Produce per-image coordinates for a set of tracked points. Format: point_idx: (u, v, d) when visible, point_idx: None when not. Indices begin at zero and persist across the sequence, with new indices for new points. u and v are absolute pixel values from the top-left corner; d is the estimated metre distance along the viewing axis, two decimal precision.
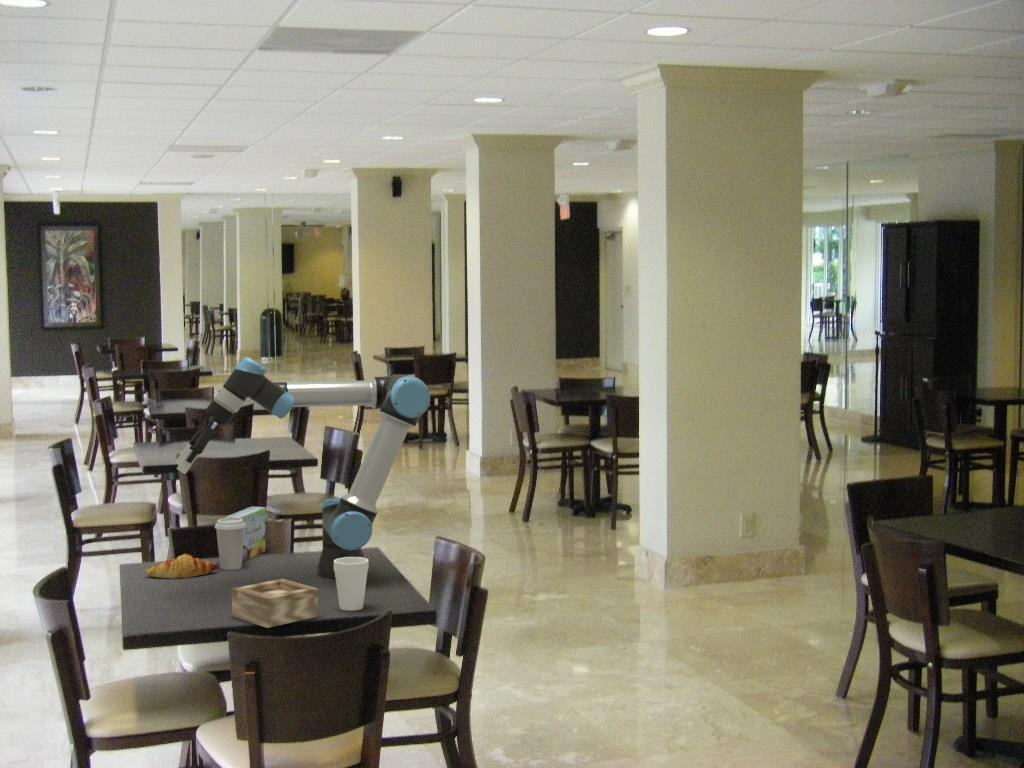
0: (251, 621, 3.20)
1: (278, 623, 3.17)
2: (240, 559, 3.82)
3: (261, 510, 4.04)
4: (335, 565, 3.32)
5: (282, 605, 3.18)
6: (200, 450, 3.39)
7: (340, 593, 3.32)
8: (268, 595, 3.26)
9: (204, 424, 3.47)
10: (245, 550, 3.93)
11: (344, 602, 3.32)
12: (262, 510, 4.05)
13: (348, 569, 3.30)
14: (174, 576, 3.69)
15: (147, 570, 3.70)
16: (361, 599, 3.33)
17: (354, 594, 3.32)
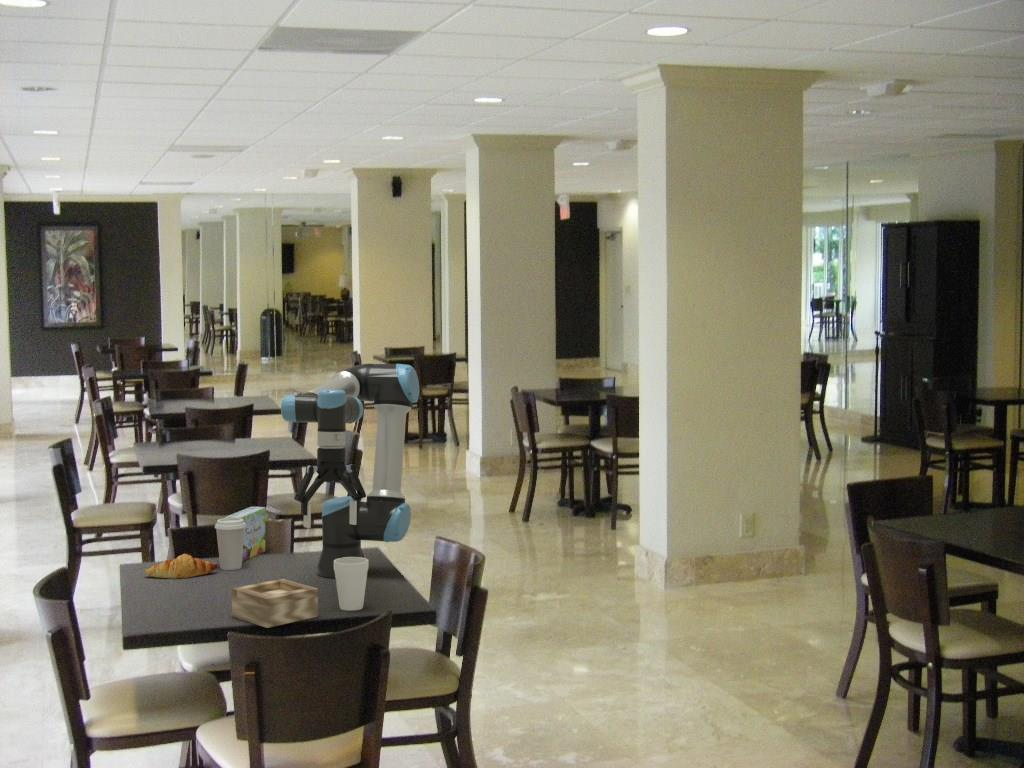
0: (251, 621, 3.20)
1: (278, 623, 3.17)
2: (240, 559, 3.82)
3: (261, 510, 4.04)
4: (335, 565, 3.32)
5: (282, 605, 3.18)
6: None
7: (340, 593, 3.32)
8: (268, 595, 3.26)
9: (340, 474, 3.32)
10: (245, 550, 3.93)
11: (344, 602, 3.32)
12: (262, 510, 4.05)
13: (348, 569, 3.30)
14: (174, 576, 3.68)
15: (147, 570, 3.70)
16: (361, 599, 3.33)
17: (354, 594, 3.32)
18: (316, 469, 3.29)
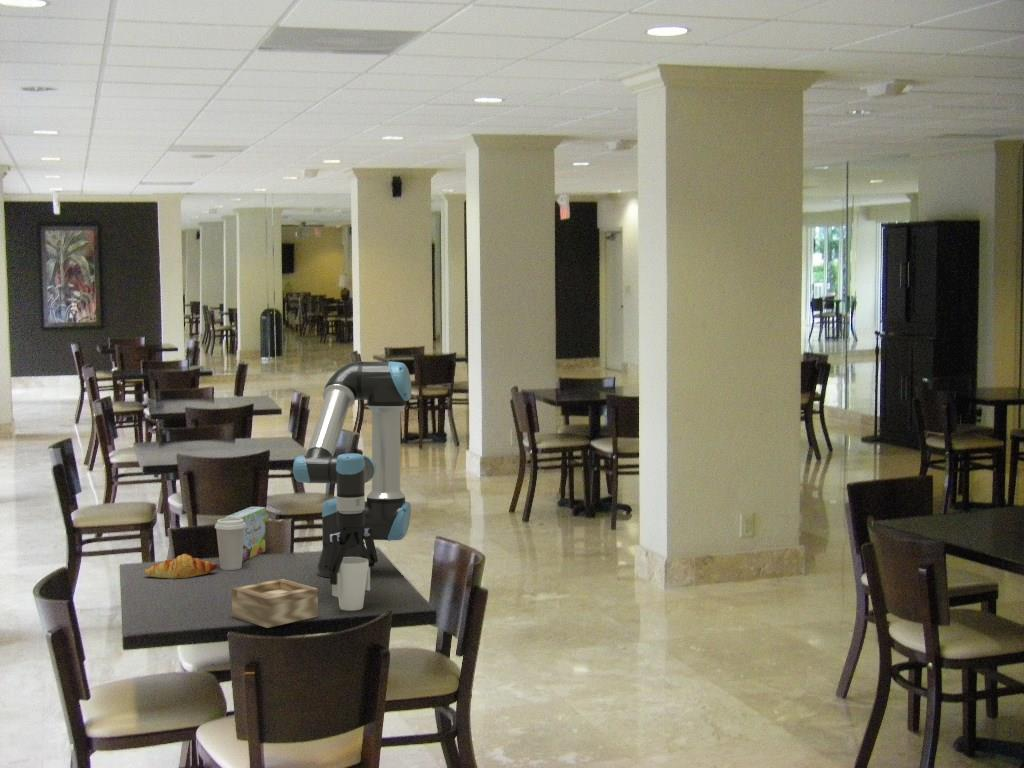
0: (251, 621, 3.20)
1: (278, 623, 3.17)
2: (240, 559, 3.82)
3: (261, 510, 4.04)
4: None
5: (282, 605, 3.18)
6: None
7: None
8: (268, 595, 3.26)
9: (360, 538, 3.34)
10: (245, 550, 3.93)
11: (344, 602, 3.32)
12: (262, 510, 4.05)
13: (348, 569, 3.30)
14: (173, 576, 3.68)
15: (146, 570, 3.70)
16: (361, 599, 3.33)
17: (354, 594, 3.32)
18: (338, 536, 3.30)
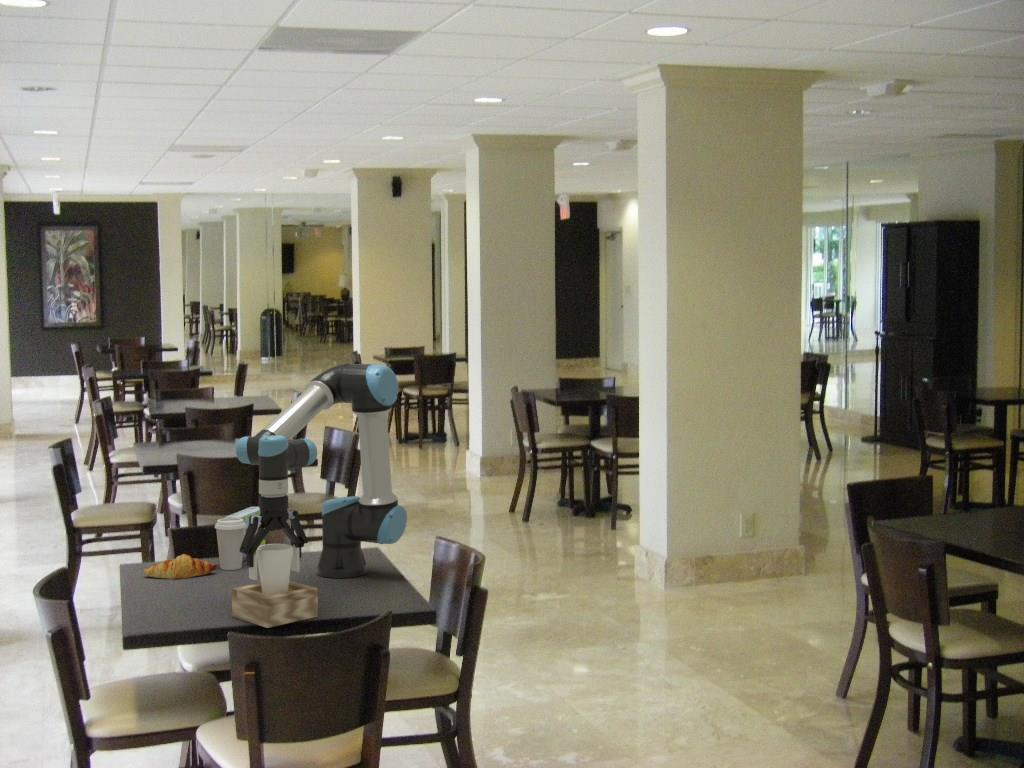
0: (251, 621, 3.20)
1: (278, 623, 3.17)
2: (240, 559, 3.82)
3: None
4: (257, 552, 3.22)
5: (282, 605, 3.18)
6: None
7: (263, 581, 3.23)
8: None
9: (284, 521, 3.24)
10: None
11: (266, 590, 3.22)
12: None
13: (271, 556, 3.20)
14: (172, 576, 3.68)
15: (146, 570, 3.70)
16: (285, 587, 3.24)
17: (277, 581, 3.22)
18: (260, 519, 3.20)
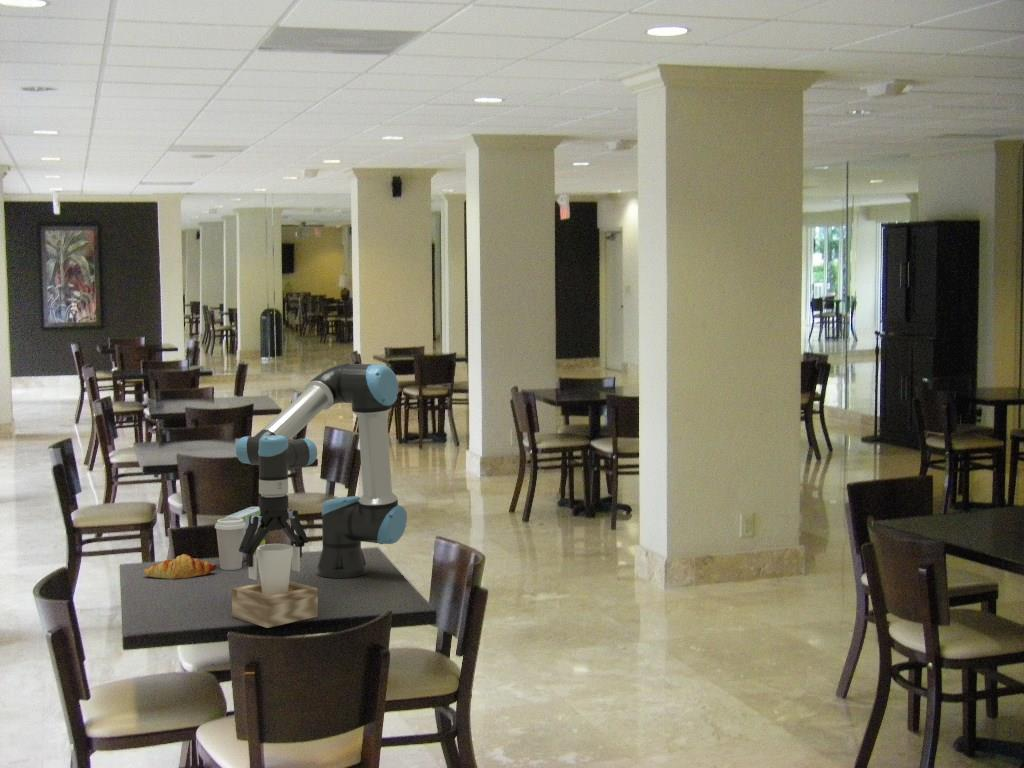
0: (251, 621, 3.20)
1: (278, 623, 3.17)
2: (240, 559, 3.82)
3: None
4: (257, 552, 3.22)
5: (282, 605, 3.18)
6: None
7: (263, 581, 3.23)
8: None
9: (284, 521, 3.24)
10: None
11: (267, 590, 3.22)
12: None
13: (271, 556, 3.20)
14: (172, 576, 3.68)
15: (146, 570, 3.70)
16: (285, 587, 3.24)
17: (277, 581, 3.22)
18: (260, 519, 3.20)
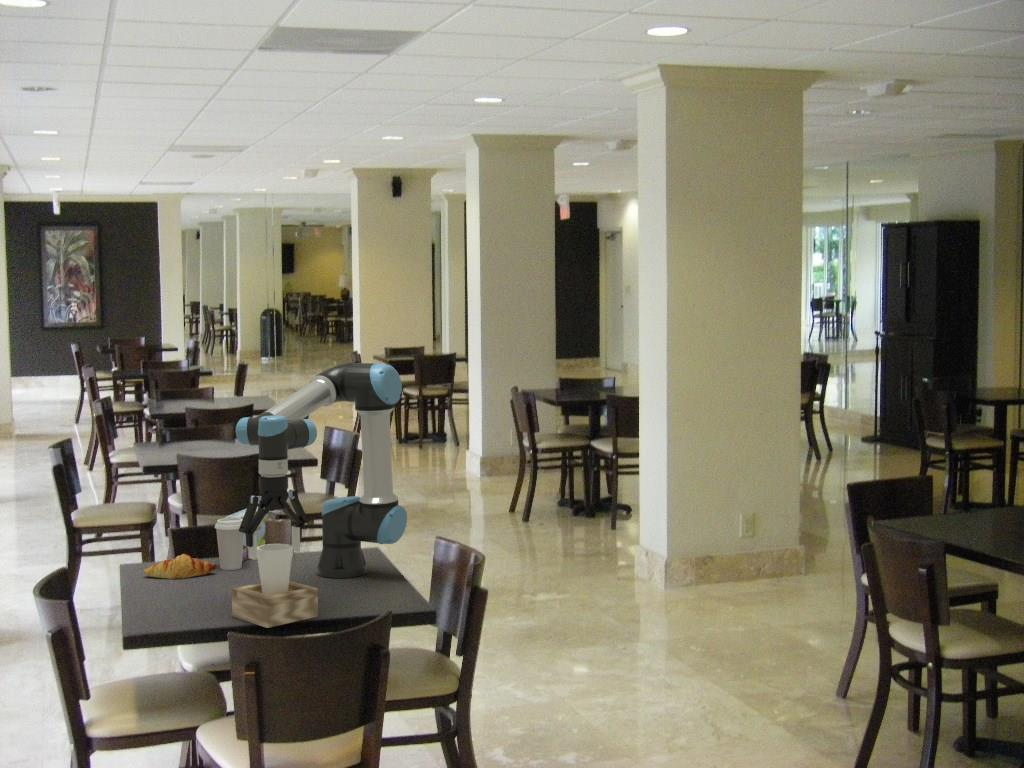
0: (251, 621, 3.20)
1: (278, 623, 3.17)
2: (240, 559, 3.82)
3: None
4: (257, 552, 3.22)
5: (282, 605, 3.18)
6: None
7: (263, 581, 3.23)
8: None
9: (284, 501, 3.24)
10: (245, 550, 3.93)
11: (267, 590, 3.22)
12: None
13: (271, 556, 3.20)
14: (172, 576, 3.68)
15: (145, 570, 3.70)
16: (285, 587, 3.24)
17: (277, 581, 3.22)
18: (260, 499, 3.20)
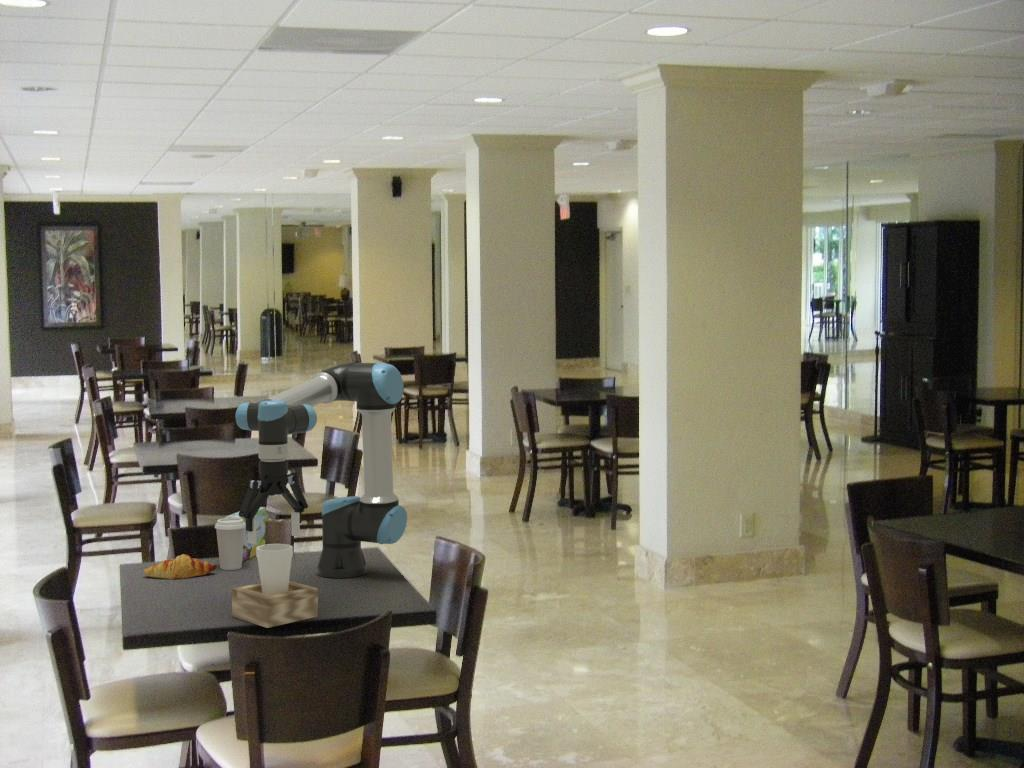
0: (251, 621, 3.20)
1: (278, 623, 3.17)
2: (240, 559, 3.82)
3: (261, 510, 4.04)
4: (257, 552, 3.22)
5: (282, 605, 3.18)
6: None
7: (263, 581, 3.23)
8: None
9: (284, 486, 3.24)
10: (245, 550, 3.93)
11: (267, 590, 3.22)
12: (262, 510, 4.05)
13: (271, 556, 3.20)
14: (171, 576, 3.68)
15: (145, 570, 3.70)
16: (285, 587, 3.24)
17: (277, 581, 3.22)
18: (260, 483, 3.20)
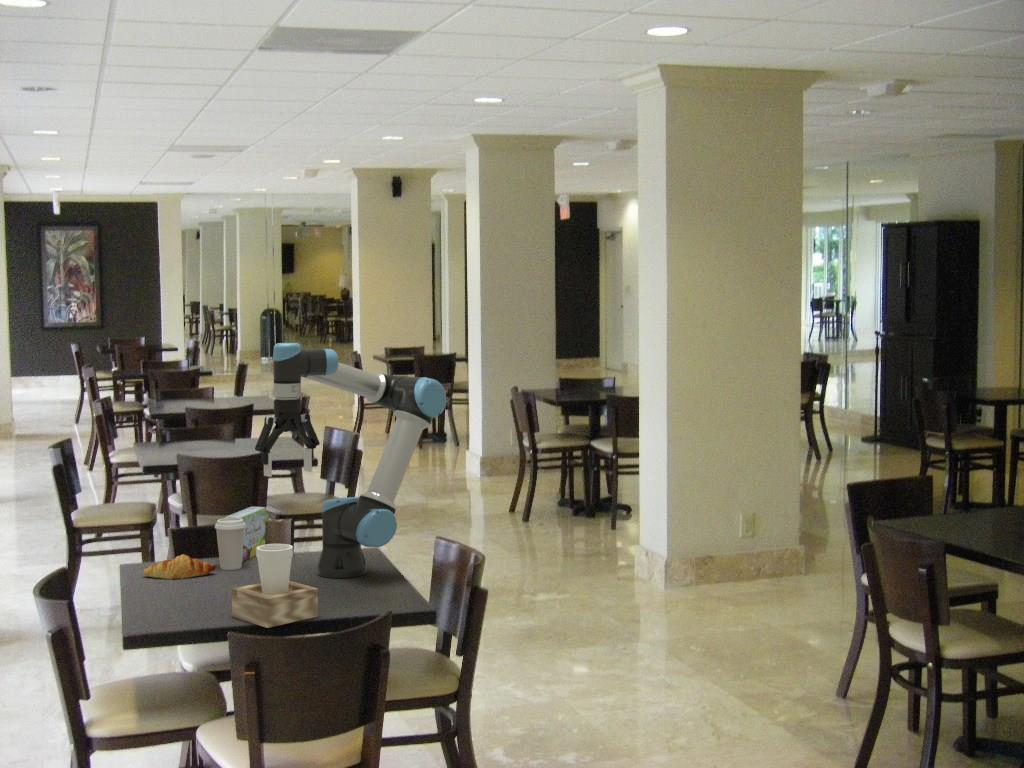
0: (251, 621, 3.20)
1: (278, 623, 3.17)
2: (240, 559, 3.82)
3: (261, 510, 4.04)
4: (257, 552, 3.22)
5: (282, 605, 3.18)
6: None
7: (263, 581, 3.23)
8: None
9: (297, 423, 3.45)
10: (245, 550, 3.93)
11: (267, 590, 3.22)
12: (262, 510, 4.05)
13: (271, 556, 3.20)
14: (170, 576, 3.68)
15: (145, 570, 3.70)
16: (285, 587, 3.24)
17: (277, 581, 3.22)
18: (275, 420, 3.41)
